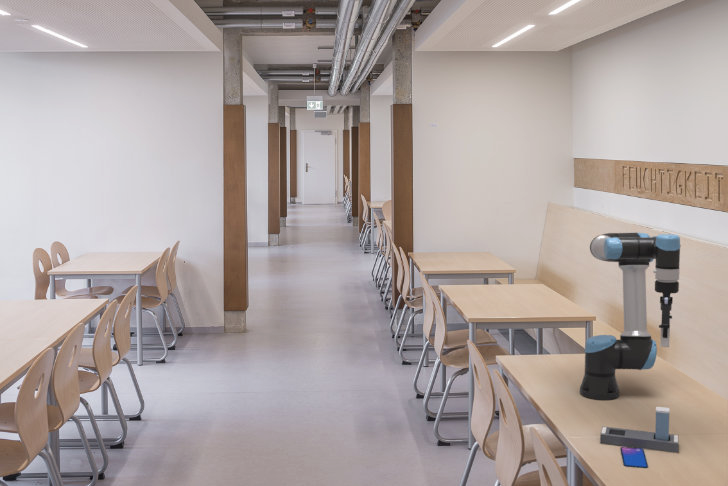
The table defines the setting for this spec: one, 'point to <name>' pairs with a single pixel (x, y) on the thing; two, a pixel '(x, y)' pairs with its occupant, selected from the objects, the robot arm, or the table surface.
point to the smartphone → (633, 457)
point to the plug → (662, 423)
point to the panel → (638, 439)
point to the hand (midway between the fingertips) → (665, 342)
